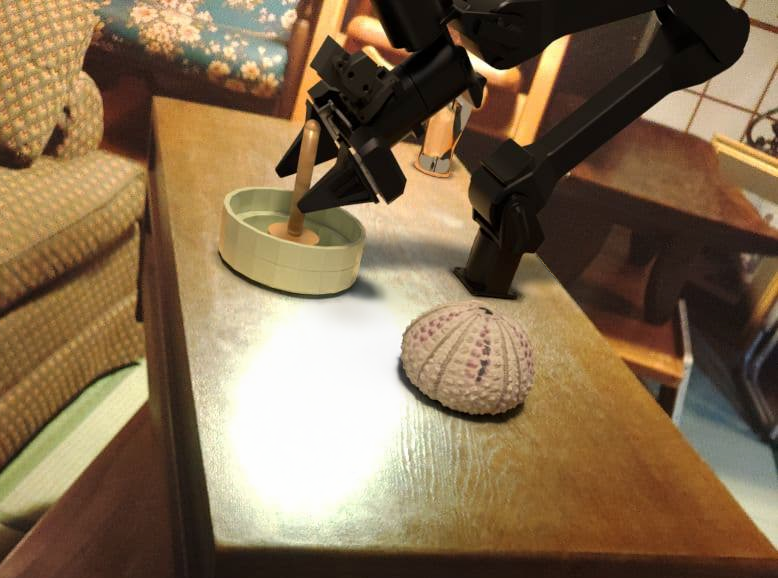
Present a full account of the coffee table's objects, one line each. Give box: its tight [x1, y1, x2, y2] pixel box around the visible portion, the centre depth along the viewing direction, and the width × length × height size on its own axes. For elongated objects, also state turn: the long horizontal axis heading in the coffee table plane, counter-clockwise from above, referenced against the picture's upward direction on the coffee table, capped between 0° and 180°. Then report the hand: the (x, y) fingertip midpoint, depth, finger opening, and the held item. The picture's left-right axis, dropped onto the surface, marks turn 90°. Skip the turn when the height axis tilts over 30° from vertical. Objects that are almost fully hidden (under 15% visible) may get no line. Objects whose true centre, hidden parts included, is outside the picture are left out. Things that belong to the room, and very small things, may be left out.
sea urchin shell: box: [399, 299, 538, 416], centre depth 69 cm, size 13×14×8 cm
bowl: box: [217, 186, 367, 295], centre depth 80 cm, size 15×15×6 cm
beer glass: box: [414, 69, 478, 178], centre depth 118 cm, size 7×7×15 cm
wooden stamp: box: [267, 120, 321, 246], centre depth 77 cm, size 6×6×14 cm
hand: (287, 191), depth 77 cm, fingers open, 9 cm apart
